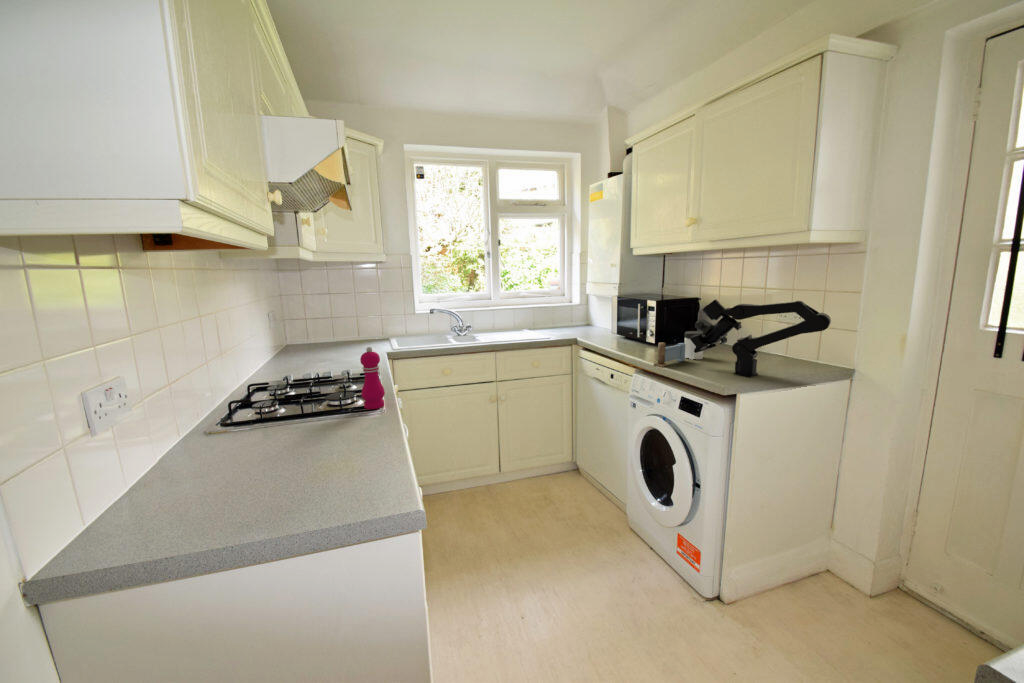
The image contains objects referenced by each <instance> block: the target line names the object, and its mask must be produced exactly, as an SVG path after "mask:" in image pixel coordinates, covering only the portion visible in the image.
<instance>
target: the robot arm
mask: <svg viewBox="0 0 1024 683" xmlns="http://www.w3.org/2000/svg"><path fill="white" fill-rule="evenodd" d="M701 311H702V313H704V315H706V317H708V318H709V319H710V320H711V321H717V322H716V323H715V324H712V323H711V322H709V321H707V320H705V319H698V320H696V322H694V328H696V329H698V331H700V332H702V334H703V335H704V336H703V337H702V336H701V335H699V334H697V335H693V336H692V337H691V338H690V340H691V341H692V342H693V344H694V345H695V346H696V348H695V350H694V352H695V353H698V352H701V351H703V352H704V351H706V350H710V349H713V348H716V347H717V345H716V344H718V343H719V345H720V346H723V345H725V344H726V343H727V342H728V337H727V336H728V333H730V332H731V331H732V330H733V329H735V330H736V331H739V330H740V329H741V328H743V327H742V321H741V320H745V319H750V318H753V317H757V316H765V315H775V314H776V315H778V314H788V313H792V314H793V313H796V314H797V315H798V316H799V317H801V319H802V321H800V322H798V323H795V324H793V325H790V326H787V327H783V328H781V329H778V330H775V331H771V332H770V333H766V334H763V335H760V336H757V337H756V336H755V337H753V336H752V334H749V335H747V336H744V337H740V338H738V339H737V340H736V342H735V343H733V345H732V346H731V350H732V351H731V352H733V354H734V355H735V356H736V361H735V364H734V372H733V375H737V376H743V377H748V378H751V377H755V376H758V375H759V372H757V366H758V365H757V364H758V359H756V358H757V357H758V354H759V353H758V352H757V351H756V350H758V349H759V348H761V347H764V346H768V345H770V344H773V343H777V342H781V341H784V340H787V339H790V338H792V337H797V336H799V335H803V334H811V333H816V332H817V333H819V332H822V331H825V330H827V329H828V328H829V327H830V325H831V323H832V320H831V316H830V315H829V314H827V313H824V312H819V311H817V310H816V309H815V308H813V307H810V306H809V305H807V304H806V303H805V302H803V301H802V300H796V301H788V302H787V301H786V302H778V303H777V302H776V303H768V304H767V303H766V304H754V303H753V304H752V303H739V304H737V305H734V306H733V307H727V308H725V307H724V306H723V305H722V304H721V303H720V301H718V299H714V300H713V301H711V302H709V303H708V304H707V305H705V306H704V307H703V308H702V310H701Z"/></svg>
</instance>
